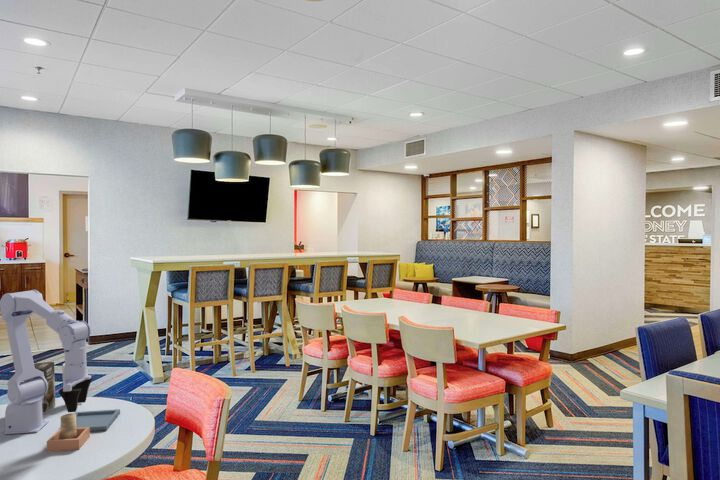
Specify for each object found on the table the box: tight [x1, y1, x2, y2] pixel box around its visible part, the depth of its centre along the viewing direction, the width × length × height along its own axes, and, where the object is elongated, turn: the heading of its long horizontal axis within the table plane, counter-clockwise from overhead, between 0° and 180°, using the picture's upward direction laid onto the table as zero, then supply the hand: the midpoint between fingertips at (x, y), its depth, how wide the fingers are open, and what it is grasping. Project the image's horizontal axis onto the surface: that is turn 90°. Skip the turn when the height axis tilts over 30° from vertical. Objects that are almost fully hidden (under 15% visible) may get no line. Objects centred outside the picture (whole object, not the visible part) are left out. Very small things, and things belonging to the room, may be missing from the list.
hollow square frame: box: [46, 427, 91, 453], centre depth 150 cm, size 9×9×3 cm
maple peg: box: [60, 412, 77, 439], centre depth 150 cm, size 4×4×8 cm
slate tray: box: [58, 408, 121, 433], centre depth 165 cm, size 14×14×2 cm
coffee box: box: [23, 361, 56, 416], centre depth 175 cm, size 9×6×16 cm
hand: (76, 406), depth 152 cm, fingers open, 7 cm apart
